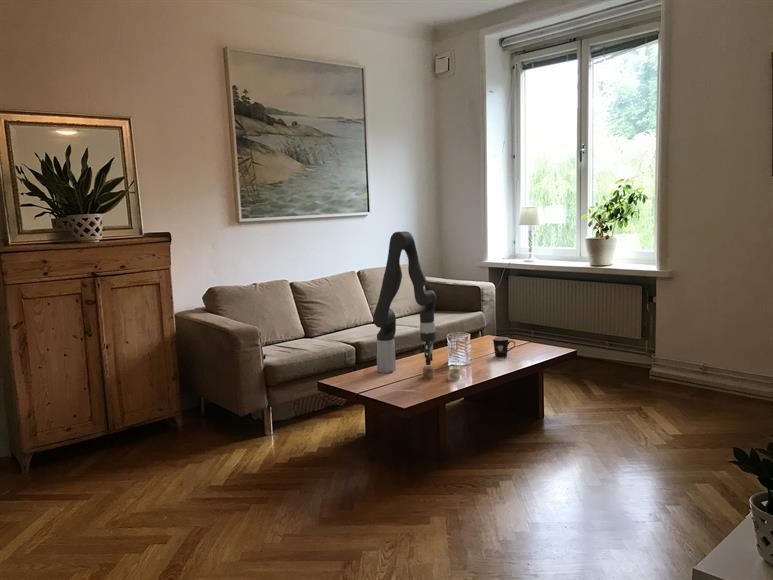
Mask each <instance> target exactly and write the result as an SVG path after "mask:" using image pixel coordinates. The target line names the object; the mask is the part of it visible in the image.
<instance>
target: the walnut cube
mask: <svg viewBox="0 0 773 580" xmlns="http://www.w3.org/2000/svg"><path fill="white" fill-rule="evenodd" d="M422 378H423V379H425V380H427V379H428V380H429V379H430V380H434V378H435V366H432V365H425V366H424V367H423V368H422Z"/></svg>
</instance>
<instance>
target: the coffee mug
mask: <svg viewBox="0 0 773 580" xmlns="http://www.w3.org/2000/svg"><path fill="white" fill-rule="evenodd" d="M509 338H510V337H509ZM509 338H508V337H506V336H496V337H493V338H492V340H493V341H492V342H493V348H494V356H495V357H496V358H507V356H508V353H509V351H512V350H513V349H514V348H515V346H516V342H515V341H514V340H510V341H509ZM510 343H513V344H514V346H512V347H511V348H509V349H508V347H509V344H510Z"/></svg>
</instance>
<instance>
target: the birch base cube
mask: <svg viewBox="0 0 773 580" xmlns="http://www.w3.org/2000/svg"><path fill="white" fill-rule="evenodd" d="M448 372H449V374H448V377H449V379H460V376H461V366H458V365H457V366H456V365H455V366H453V365H452V366H449V369H448Z"/></svg>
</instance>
